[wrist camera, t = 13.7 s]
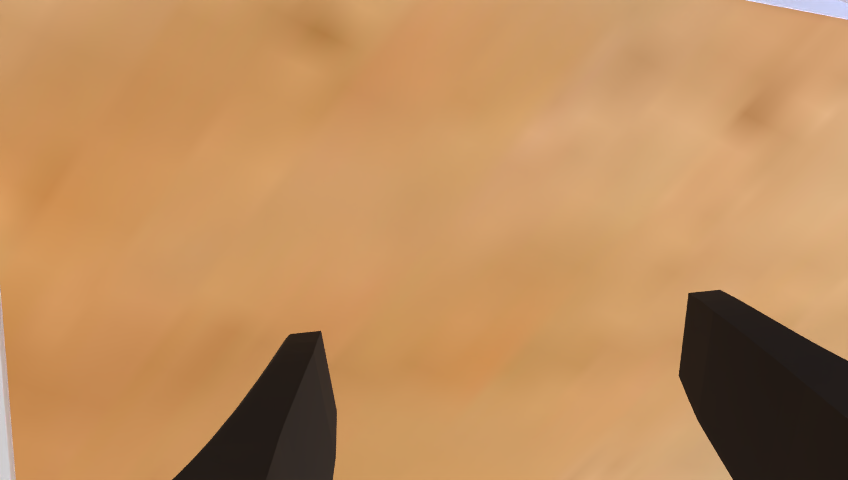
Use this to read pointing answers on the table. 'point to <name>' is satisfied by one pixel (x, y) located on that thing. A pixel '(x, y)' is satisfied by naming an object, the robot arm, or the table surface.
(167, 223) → the table surface
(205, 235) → the table surface
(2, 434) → the baseboard molding
